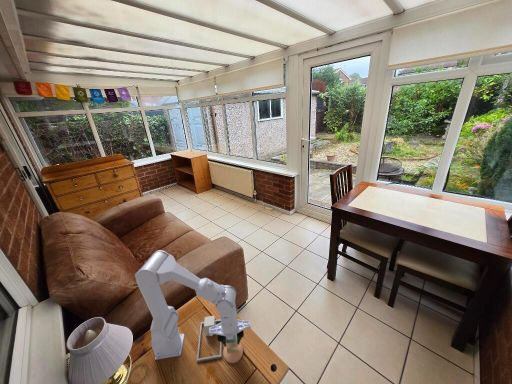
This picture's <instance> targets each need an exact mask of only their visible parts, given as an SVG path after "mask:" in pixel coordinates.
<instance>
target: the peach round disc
mask: <svg viewBox="0 0 512 384" xmlns="http://www.w3.org/2000/svg"><path fill="white" fill-rule="evenodd" d="M222 353H223V358H224V360H225V361H226V362H227V363H228V364H235V363H238V362H239V361H240V360H241V359H242V357H243V354H244V348H243V343H241V342H240V344H239V345H238V352H235V353H229V354H227V348H226V347H225V346H224V347H223V350H222Z"/></svg>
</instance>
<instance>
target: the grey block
mask: <svg viewBox="0 0 512 384" xmlns="http://www.w3.org/2000/svg"><path fill="white" fill-rule="evenodd" d="M215 320H216V317H215V315H209V316H204V321H203V322H204V325H203V328H204V333H205V336H206V337H208V336H209V337H210V335H209V327H213V326H215V325H217V323H216V321H215ZM214 335H216V334H213V336H214Z"/></svg>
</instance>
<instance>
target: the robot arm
mask: <svg viewBox="0 0 512 384" xmlns="http://www.w3.org/2000/svg"><path fill="white" fill-rule="evenodd" d="M134 277H135V278H134V279H135V281H136V285H137V287H138V289H139V290H140V293H141V295H142V297H143V299H144V301H145V303H146V305H147V307H148V310H149V312H150V315H151V316H152V322H151V325H150V329H149V330H150V332H151V334H150V337H151V348H152V351H153V353H154V359H155V360H156V361H157V360H161V359H162V360H163V359H167V358H173V357H178V356H180V357H181V355H182V350H183V345H184V339H185V333H180V331H179V328H178V327H179V326H178V320H179V318H180V314H179V312H178V311H177V310H176V309H175V307H174V306H171V305H168V304H167V301H166V299H165V296H164V294H163V292H162V289H161V287H160V285H163V284H165V283H167V282H169V281H172V282H173V281H174V282H176V283H178V284H180V285H183V286H186V287H188V288H190V289H192V290H195V293H196V296H197V297H199V298H201V299H202V300H206V301H207V302H208V303H211V304H212V305H214V309H215V311H217V312H218V313H219V319H220V320H221V322H218V323H216V325H215V326H213V327H209V337H213V336H214V335H213V334H215V335H216V336H217V338H216V339H217V341H218V342H219V343H220V342H222V345H223V346H224V347H226V336H227V339H228V340H229V339H233V336H234V335H235V334H237V344H238V345H239V344H240V343H241V340H242V339H243V338H244V336H245V331H244V330H248V331H249V330H251V329H252V328H251V327H252V325H251V320H243V319H238V315H237V314H238V312H237V307H236V297H237V290H236V289H235V288H234V287H233V286H232V285H228V284H227V285H224V284H219V283H217V282H215V281H213V280H211V279H209V278H208V277H203V278H200V277H198V276H197V275H195V274H194V273H193V272H191V271H190V270H188V269H186V268H185V267H183V266H182V265H180V264H179V263H177V261H176V259H175V257H174V255H171V254H170V253H168V252H167V251H165V250H161V249H159V250H155V252H153V253H152V254H151V255H150V256H149V258H148V259H147V260H146V261H145V262H144V264H143V265H142V266H141V268H139V269H138V271H137V272H135V274H134Z"/></svg>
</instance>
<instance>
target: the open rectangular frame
mask: <svg viewBox="0 0 512 384" xmlns="http://www.w3.org/2000/svg"><path fill="white" fill-rule="evenodd" d="M215 321H216V324H218V323H221V320H220V318H219V319H215ZM203 326H204V321H202V322H200V328H199V335H198V345H197V355H196V362H197V363H201V362H205V361H210V360H215V359H222V353H223V350H222V347H223V343H222V342H219V354H217V355H212V356H205V357H200V350H201V342H202V341H201V340H202V329H203Z"/></svg>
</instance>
